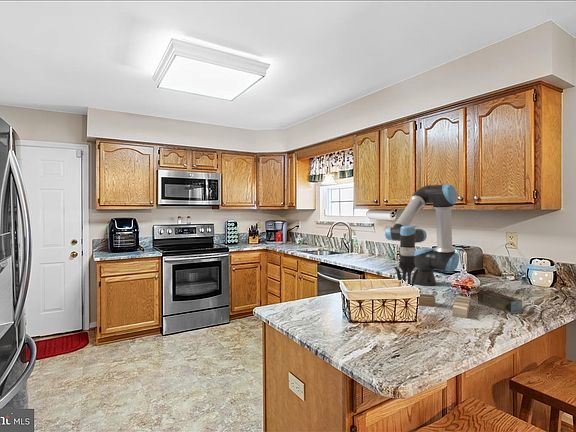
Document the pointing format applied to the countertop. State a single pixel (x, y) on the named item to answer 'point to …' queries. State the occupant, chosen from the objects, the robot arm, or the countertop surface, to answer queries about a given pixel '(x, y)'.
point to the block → (427, 300)
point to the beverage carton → (500, 301)
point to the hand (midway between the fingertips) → (406, 298)
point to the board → (461, 306)
